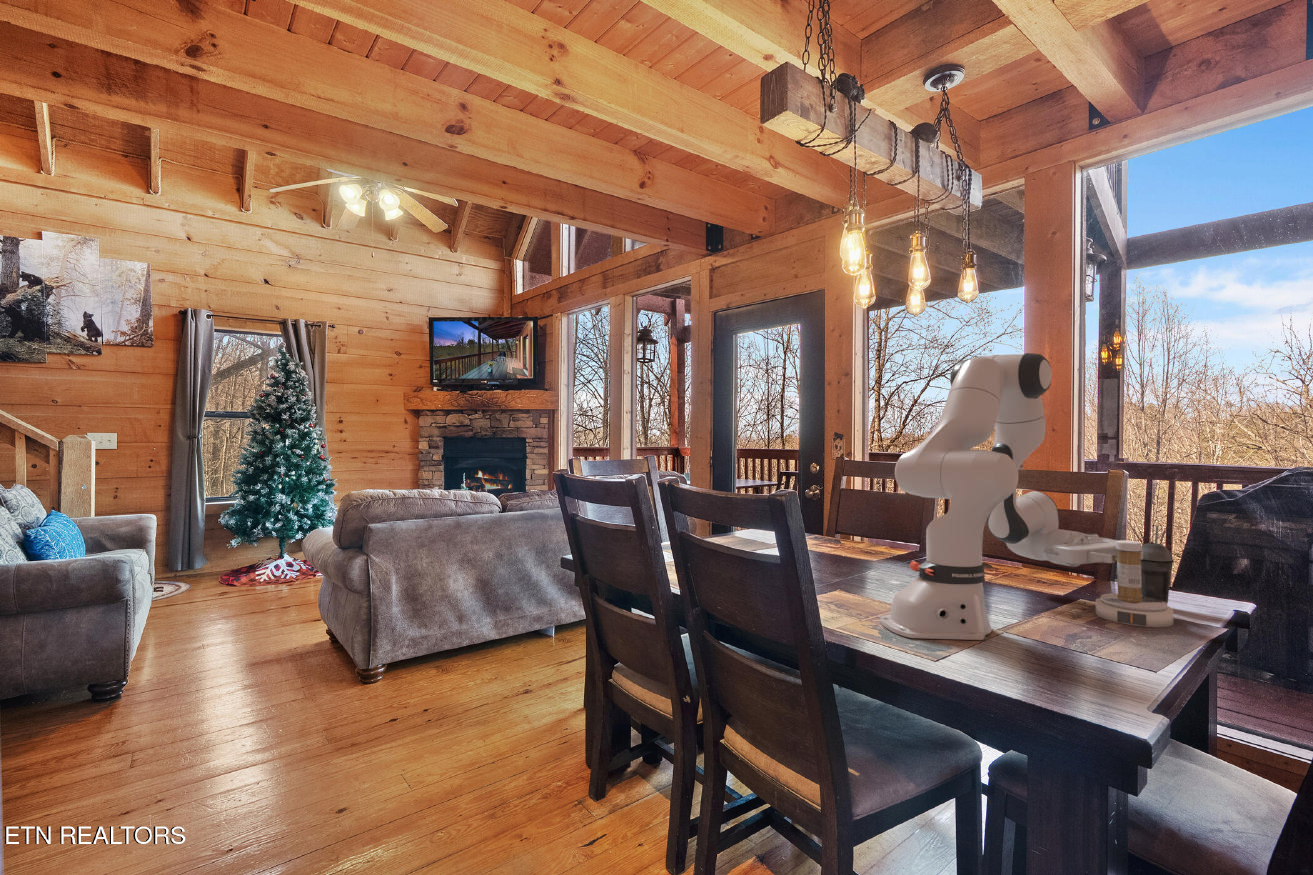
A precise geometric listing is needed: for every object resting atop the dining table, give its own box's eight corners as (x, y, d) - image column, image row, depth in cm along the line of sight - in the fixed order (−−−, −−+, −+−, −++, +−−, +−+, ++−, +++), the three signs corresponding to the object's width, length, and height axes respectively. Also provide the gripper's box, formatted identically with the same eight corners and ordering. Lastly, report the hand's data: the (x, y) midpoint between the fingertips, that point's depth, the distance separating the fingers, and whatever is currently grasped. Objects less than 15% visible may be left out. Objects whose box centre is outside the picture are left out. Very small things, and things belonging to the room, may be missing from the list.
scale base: (1130, 628, 132) (1130, 614, 132) (1080, 610, 146) (1080, 597, 146) (1190, 626, 133) (1190, 612, 133) (1135, 608, 147) (1135, 596, 147)
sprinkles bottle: (1139, 599, 140) (1138, 540, 140) (1144, 603, 136) (1143, 543, 136) (1115, 596, 142) (1114, 539, 143) (1119, 601, 138) (1118, 542, 138)
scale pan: (1131, 612, 133) (1131, 607, 133) (1087, 598, 145) (1087, 594, 145) (1182, 610, 134) (1181, 606, 134) (1134, 596, 146) (1134, 592, 146)
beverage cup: (1160, 603, 152) (1159, 523, 152) (1182, 611, 145) (1181, 527, 145) (1128, 602, 153) (1127, 522, 153) (1149, 610, 145) (1148, 526, 146)
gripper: (1038, 538, 150) (1095, 547, 137) (1096, 533, 157) (1156, 541, 144) (1039, 563, 150) (1095, 575, 137) (1097, 557, 157) (1156, 568, 144)
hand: (1127, 557), depth 141 cm, fingers open, 8 cm apart
